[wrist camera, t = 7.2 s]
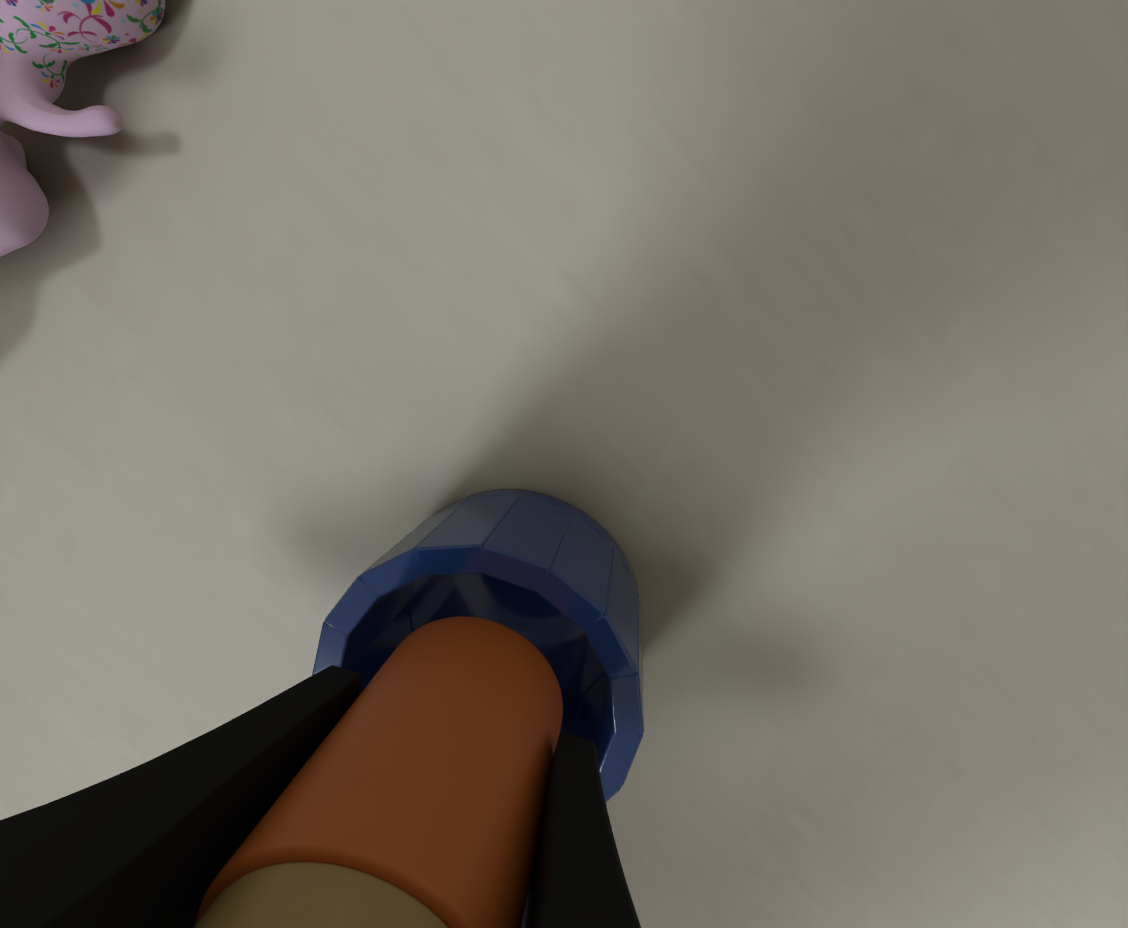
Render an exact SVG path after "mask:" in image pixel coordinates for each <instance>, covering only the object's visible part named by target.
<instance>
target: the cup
mask: <svg viewBox="0 0 1128 928" xmlns="http://www.w3.org/2000/svg"><path fill="white" fill-rule="evenodd" d="M459 616H464V617H477V618H483V619H487V620H491V621H494V622H497V623H500V624H502V625H505V626H507V627H509V628H511V629H512V630H514V631H516V632H518V633H519V634H521V635H522V636H523V637H525V638H526V639H528V640H529V641H530V642H531V643H532V644H533V645H534V646H535V647H536V648H537V649H538V650H539V651H540V652H541V653H542V655H543V656H544V657H545V658H546V660H547V661H548V663H549V664H550V666H551V668H552V670H553V672H554V674H555V676H556V678H557V680H558V683H559V686H560V689H561V695H562V700H563V717H562V724H561V729H560V732H564V733H567V734H570V735H574V736H577V737H581V738H584V739H588V740H591V741H593V742H594V744H595V746H596V747H597V754H598V763H599V770H600V777H601V782H602V788H603V793H604V798H605V803H606V802H607V801H608V800H609V799H610V798H611V797H612V796H614V795H615V794H616V793H617V792H618V791H619V790H620V788H621V787H622V786H623V784H624V782H625V779H626V777H627V774H628V772H629V769H630V767H631V764H632V762H633V759H634V757H635V754H636V752H637V749H638V747H639V744H640V742H641V739H642V737H643V732H644V710H643V653H642V629H641V608H640V599H639V592H638V588H637V584H636V581H635V578H634V574H633V572H632V570H631V568H630V565H629V563H628V561H627V559H626V557H625V556H624V554H623V553H622V551H621V549H620V548H619V546H618V545H617V544H616V542H615V541H614V540H613V539H612V538H611V536H610V535H609V534H608V533H607V532H606V531H605V530H604V529H603V528H602V527H601V526H600V525H599V524H598V523H597V522H596V521H594V520H593V519H592V518H590V517H589V516H588V515H586V514H585V513H583V512H582V511H580V510H579V509H577V508H575V507H573V506H571V505H570V504H568V503H566V502H563V501H561V500H558V499H556V498H553V497H551V496H547V495H543V494H540V493H536V492H530V491H522V490H495V491H488V492H482V493H479V494H475V495H471V496H468V497H466V498H463V499H461V500H458V501H456V502H454V503H452V504H451V505H449V506H447V507H446V508H444V509H442V510H441V511H440V512H438V513H437V514H436V515H434V516H432V517H430V518H428V519H426V520H425V521H424V522H423V523H421V524H420V525H419V526H418V527H417V528H415V529H414V530H413V531H412V532H411V533H409V534H408V535H407V536H406V537H405V538H403V539H402V540H401V541H400V542H399V543H397V544H396V545H395V546H394V547H393V548H391V549H390V550H389V551H388V552H387V553H385V554H384V555H383V556H382V557H381V558H379V559H378V560H377V561H376V562H375V563H374V564H372V565H371V566H370V567H369V568H368V569H366V570H365V571H364V572H363V573H362V574H360V575H359V576H358V577H357V578H356V580H355V581H354V582H353V583H352V585H351V586H350V587H349V589H348V590H347V591H346V592H345V594H344V595H343V596H342V598H341V599H340V600H339V601H338V603H337V604H336V605H335V607H334V608H333V609H332V610H331V612H330V613H329V614H328V616H327V617H326V618H325V621H324V622H323V626H322V631H321V635H320V640H319V645H318V650H317V655H316V659H315V664H314V669H313V674H312V676H313V675H315V674H316V673H318V672H320V671H322V670H324V669H326V668H328V667H329V666H331V665H334V666H337V667H341V668H344V669H348V670H351V671H355V672H358V673H361V674H363V675H362V681H361V688H360V694H361V692H362V691H363V690H364V689H365V687H366V686H367V685H368V684H369V682H370V681H371V680H372V679H373V677H374V676H375V675H376V673H377V672H378V671H379V670H380V668H381V667H382V666H383V665H384V663H385V662H386V661H387V660H388V658H389V657H390V656H391V654H392V653H393V652H394V651H395V649H396V648H397V647H398V646H399V644H400V643H401V642H402V641H403V640H404V639H405V638H406V637H407V636H408V635H409V634H411V633H412V632H413V631H415V630H416V629H418V628H420V627H422V626H423V625H425V624H428V623H430V622H433V621H436V620H440V619H444V618H449V617H459ZM360 694H359V695H360Z"/></svg>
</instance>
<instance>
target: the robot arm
mask: <svg viewBox="0 0 1128 928" xmlns="http://www.w3.org/2000/svg"><path fill="white" fill-rule="evenodd" d="M362 675H363V674H361V673H358V672H355V671H351V670H348V669H344V668H341V667H337V666H334V665H331V666H329V667H328V668H326V669H324V670H322V671H320V672H318V673H316V674H315V675H313V676H311V677H309V678H307V679H305V680H304V681H302V682H300V683H298V684H296V685H295V686H293V687H291V688H289V689H288V690H286V691H284V692H282V693H280V694H279V695H277V696H275V697H273V698H271V699H270V700H268V701H266V702H264V703H262V704H260V705H259V706H257V707H255V708H253V709H251V710H249V711H247V712H246V713H244V714H242V715H240V716H238V717H236V718H234V719H232V720H231V721H229V722H227V723H225V724H223V725H221V726H219V727H217V728H216V729H214V730H212V731H210V732H208V733H206V734H203V735H201V736H199V737H197V738H195V739H193V740H191V741H189V742H187V743H185V744H183V745H181V746H179V747H177V748H175V749H173V750H171V751H169V752H167V753H165V754H163V755H161V756H158V757H156V758H154V759H152V760H150V761H148V762H146V763H144V764H141V765H139V766H137V767H135V768H132V769H130V770H128V771H126V772H123V773H121V774H119V775H116V776H114V777H112V778H109V779H107V780H105V781H102V782H100V783H97V784H95V785H92V786H90V787H88V788H85V789H83V790H80V791H78V792H75V793H73V794H70V795H68V796H66V797H63V798H60V799H58V800H55V801H53V802H50V803H48V804H45V805H42V806H39V807H37V808H34V809H31V810H28V811H25V812H23V813H20V814H17V815H14V816H11V817H9V818H6V819H3V820H0V928H194V926H195V923H196V919H197V915H198V912H199V908H200V905H201V902H202V900H203V898H204V896H205V893H206V891H207V889H208V887H209V886H210V884H211V883H212V882H213V880H214V879H215V877H216V876H217V875H218V873H219V872H220V871H221V870H222V868H223V867H224V866H225V865H226V863H227V862H228V861H229V859H230V858H231V857H232V856H233V854H234V853H235V852H236V851H237V849H238V848H239V847H240V846H241V844H242V843H243V842H244V841H245V839H246V838H247V837H248V835H249V834H250V833H251V832H252V830H253V829H254V828H255V827H256V825H257V824H258V823H259V822H260V820H261V819H262V818H263V816H264V815H265V814H266V813H267V811H268V810H269V809H270V808H271V806H272V805H273V804H274V803H275V801H276V800H277V799H278V797H279V796H280V795H281V794H282V792H283V791H284V790H285V789H286V787H287V786H288V785H289V784H290V782H291V781H292V780H293V778H294V777H295V776H296V775H297V773H298V772H299V771H300V770H301V768H302V767H303V766H304V765H305V763H306V762H307V761H308V760H309V758H310V757H311V756H312V754H313V753H314V752H315V751H316V749H317V748H318V747H319V746H320V744H321V743H322V742H323V741H324V739H325V738H326V737H327V735H328V734H329V733H330V732H331V730H332V729H333V728H334V727H335V725H336V724H337V723H338V722H339V720H340V719H341V718H342V716H343V715H344V714H345V713H346V711H347V710H348V709H349V708H350V706H351V705H352V704H353V703H354V701H355V700H356V699H357V697H358V696H359V694H360V688H361V681H362ZM521 928H641V926H640V923H639V920H638V917H637V914H636V911H635V908H634V905H633V902H632V899H631V895H630V892H629V889H628V886H627V883H626V879H625V876H624V873H623V869H622V866H621V862H620V859H619V855H618V851H617V847H616V844H615V840H614V836H613V832H612V829H611V825H610V820H609V816H608V812H607V807H606V803H605V798H604V793H603V788H602V782H601V777H600V770H599V763H598V754H597V747H596V746H595V744H594V742H593V741H591V740H588V739H584V738H581V737H577V736H574V735H570V734H567V733H564V732H560V734H559V737H558V741H557V745H556V749H555V752H554V756H553V761H552V766H551V771H550V776H549V780H548V785H547V790H546V795H545V800H544V806H543V813H542V820H541V826H540V832H539V838H538V844H537V850H536V855H535V860H534V865H533V870H532V875H531V880H530V885H529V890H528V895H527V900H526V905H525V910H524V915H523V920H522V925H521Z"/></svg>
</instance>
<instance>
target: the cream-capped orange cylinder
mask: <svg viewBox="0 0 1128 928" xmlns="http://www.w3.org/2000/svg"><path fill="white" fill-rule="evenodd" d="M562 717H563V700H562V695H561V689H560V686H559V683H558V680H557V678H556V676H555V674H554V672H553V670H552V668H551V666H550V664H549V663H548V661H547V660H546V658H545V657H544V656H543V655H542V653H541V652H540V651H539V650H538V649H537V648H536V647H535V646H534V645H533V644H532V643H531V642H530V641H529V640H528V639H526V638H525V637H523V636H522V635H521V634H519V633H518V632H516V631H514V630H512V629H511V628H509V627H507V626H505V625H502V624H500V623H497V622H494V621H491V620H487V619H483V618H477V617H464V616H459V617H449V618H444V619H440V620H436V621H433V622H430V623H428V624H425V625H423V626H422V627H420V628H418V629H416V630H415V631H413V632H412V633H411V634H409V635H408V636H407V637H406V638H405V639H404V640H403V641H402V642H401V643H400V644H399V646H398V647H397V648H396V649H395V651H394V652H393V653H392V654H391V656H390V657H389V658H388V660H387V661H386V662H385V663H384V665H383V666H382V667H381V668H380V670H379V671H378V672H377V673H376V675H375V676H374V677H373V679H372V680H371V681H370V682H369V684H368V685H367V686H366V687H365V689H364V690H363V691H362V692H361V694H360V695H359V696H358V697H357V699H356V700H355V701H354V703H353V704H352V705H351V706H350V708H349V709H348V710H347V711H346V713H345V714H344V715H343V716H342V718H341V719H340V720H339V722H338V723H337V724H336V725H335V727H334V728H333V729H332V730H331V732H330V733H329V734H328V735H327V737H326V738H325V739H324V741H323V742H322V743H321V744H320V746H319V747H318V748H317V749H316V751H315V752H314V753H313V754H312V756H311V757H310V758H309V760H308V761H307V762H306V763H305V765H304V766H303V767H302V768H301V770H300V771H299V772H298V773H297V775H296V776H295V777H294V778H293V780H292V781H291V782H290V784H289V785H288V786H287V787H286V789H285V790H284V791H283V792H282V794H281V795H280V796H279V797H278V799H277V800H276V801H275V803H274V804H273V805H272V806H271V808H270V809H269V810H268V811H267V813H266V814H265V815H264V816H263V818H262V819H261V820H260V822H259V823H258V824H257V825H256V827H255V828H254V829H253V830H252V832H251V833H250V834H249V835H248V837H247V838H246V839H245V841H244V842H243V843H242V844H241V846H240V847H239V848H238V849H237V851H236V852H235V853H234V854H233V856H232V857H231V858H230V859H229V861H228V862H227V863H226V865H225V866H224V867H223V868H222V870H221V871H220V872H219V873H218V875H217V876H216V877H215V879H214V880H213V882H212V883H211V884H210V886H209V887H208V889H207V891H206V893H205V896H204V898H203V900H202V902H201V905H200V908H199V912H198V915H197V919H196V923H195V926H194V928H521V925H522V920H523V915H524V910H525V905H526V900H527V895H528V890H529V885H530V880H531V875H532V870H533V865H534V860H535V855H536V850H537V844H538V838H539V832H540V826H541V820H542V813H543V806H544V800H545V795H546V790H547V785H548V780H549V776H550V771H551V766H552V761H553V756H554V752H555V749H556V745H557V741H558V737H559V734H560V729H561V724H562Z"/></svg>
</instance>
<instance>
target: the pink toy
mask: <svg viewBox="0 0 1128 928" xmlns="http://www.w3.org/2000/svg"><path fill="white" fill-rule="evenodd" d="M164 10H165V0H0V257H1V256H3V255H6V254H8V253H10V252H12V251H14V250H17V249H19V248H22V247H24V246H27V245H28V244H30V243H32V242H33V241H35V240H36V239H37V238H38V237H39V236H40V235H41V233H42V232H43V230H44V228H45V227H46V224H47V222H48V217H49V206H48V202H47V199H46V197H45V195H44V193H43V191H42V189H41V188H40V186H39V184H38V182H37V181H36V180H35V178H34V177H33V176H32V175H31V174H30V173H29V172H28V171H27V167H26V159H25V154H24V150H23V147H22V145H21V144H20V142H19V141H18V140H16V139H15V138H13V137H12V136H9V135H7V134H4V133H2V132H1V125H2V124H3V123H4V121H9V122H13V123H16V124H18V125H21V126H23V127H25V128H28V129H30V130H34V131H38V132H43V133H48V134H53V135H58V136H65V137H91V136H106V135H113V134H116V133H118V132H119V131H120V130H121V129H122V127H123V123H122V119H121V117H120V115H119V114H118V113H117V112H116V111H115V110H114V109H112V108H110V107H107V106H104V105H96V106H90V107H88V108H85V109H82V110H78V111H69V110H65V109H62V108H60V107H57V106H55V105H53V104H52V103H53V102H55V101H56V100H57V98H58V97H59V96H60V94H61V92H62V90H63V88H64V85H65V79H66V71H67V68H68V66H69V65H70V64H71V63H72V62H73V61H75V60H77V59H79V58H82V57H85V56H90V55H94V54H98V53H102V52H105V51H108V50H112V49H115V48H118V47H123V46H126V45H130V44H133V43H136V42H139V41H141V40H143V39H145V38H147V37H149V36H150V35H151V34H152V33H154V32H155V30H156V29H157V28H158V26H159V25H160V23H161V21H162V18H163V15H164Z"/></svg>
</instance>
